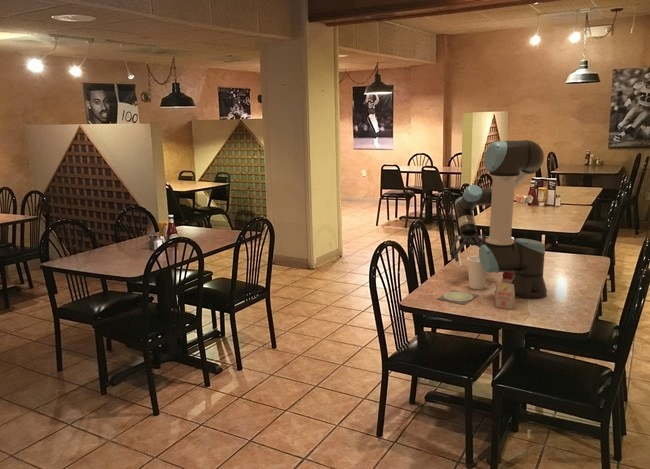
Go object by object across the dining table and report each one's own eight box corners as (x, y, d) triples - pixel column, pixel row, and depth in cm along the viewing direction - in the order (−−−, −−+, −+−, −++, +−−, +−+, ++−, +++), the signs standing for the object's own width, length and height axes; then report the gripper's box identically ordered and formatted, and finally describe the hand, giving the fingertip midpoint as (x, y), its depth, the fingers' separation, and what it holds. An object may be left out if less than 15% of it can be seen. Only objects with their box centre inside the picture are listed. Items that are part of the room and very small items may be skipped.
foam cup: (464, 289, 249) (465, 260, 247) (467, 283, 258) (468, 255, 255) (486, 291, 246) (488, 262, 243) (489, 285, 254) (490, 257, 252)
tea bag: (497, 304, 229) (498, 280, 227) (514, 307, 225) (515, 283, 223) (494, 307, 226) (495, 283, 224) (511, 310, 222) (512, 285, 220)
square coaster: (478, 296, 240) (479, 294, 240) (463, 304, 229) (463, 303, 229) (453, 291, 247) (453, 289, 247) (437, 299, 237) (437, 297, 237)
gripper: (492, 230, 268) (501, 270, 256) (439, 232, 267) (446, 271, 256) (496, 221, 261) (505, 261, 250) (442, 223, 261) (449, 263, 249)
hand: (475, 266), depth 253 cm, fingers open, 13 cm apart
